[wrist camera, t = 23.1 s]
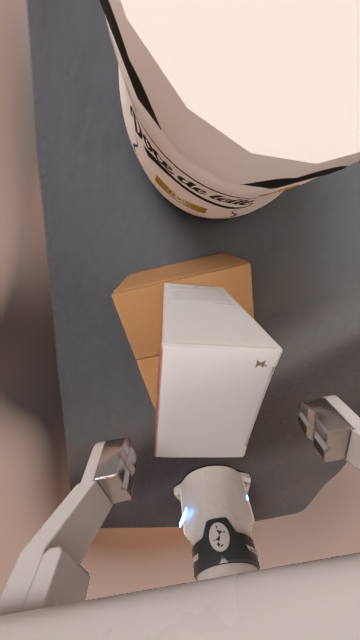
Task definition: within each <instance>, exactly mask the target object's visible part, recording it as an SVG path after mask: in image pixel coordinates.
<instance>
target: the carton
mask: <svg viewBox="0 0 360 640" xmlns="http://www.w3.org/2000/svg"><path fill="white" fill-rule="evenodd" d="M164 283H173V284H186V285H198V286H210V287H223V288H224V289H225V290H226V291H227V292H228V293H229V294H230V295H231V296H232V297H233V298H234V299H235V300H236V301H237V302H238V303H239V304H240V306H241V307H242V308H243V309H244V310H245V311H246V312H247V313H248V314H249V315H250V316H251V317H252V318H253V319H254V308H253V292H252V276H251V263H248V261H246V260H243V259H240V258H238V257H235V256H232V255H230V254H227V253H224V252H223V253H219V254H215V255H210V256H206V257H202V258H197V259H193V260H189V261H184V262H180V263H176V264H172V265H167V266H163V267H159V268H154V269H150V270H146V271H141V272H137V273H133V274H129V275H128V276H127V277H126V278H125V279H124V281H123V282H122V283H121V284H120V285H119V286H118V287H117V288H116V289H115V291H114V292H113V294H112V298H113V301H114V303H115V306H116V309H117V311H118V314H119V317H120V319H121V322H122V324H123V327H124V330H125V332H126V335H127V338H128V340H129V343H130V345H131V348H132V351H133V353H134V356H135V359H141V358H146V357H150V356H155V355H159V348H160V335H161V323H162V308H163V293H164Z"/></svg>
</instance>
